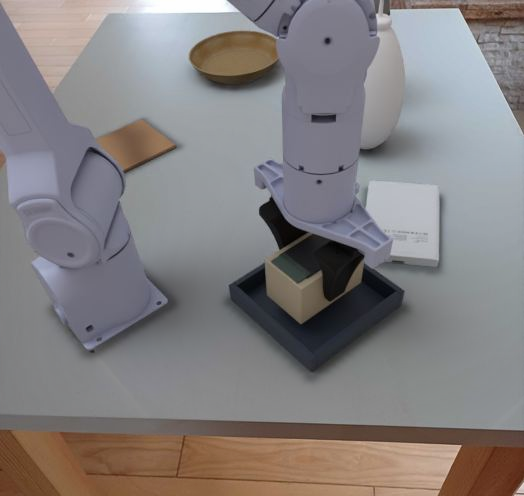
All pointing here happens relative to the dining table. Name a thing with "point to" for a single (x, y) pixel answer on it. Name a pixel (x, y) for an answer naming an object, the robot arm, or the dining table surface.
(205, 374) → the dining table surface
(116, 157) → the coaster
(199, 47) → the plant saucer
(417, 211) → the hard drive
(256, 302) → the tray
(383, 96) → the sauce bottle
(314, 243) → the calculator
